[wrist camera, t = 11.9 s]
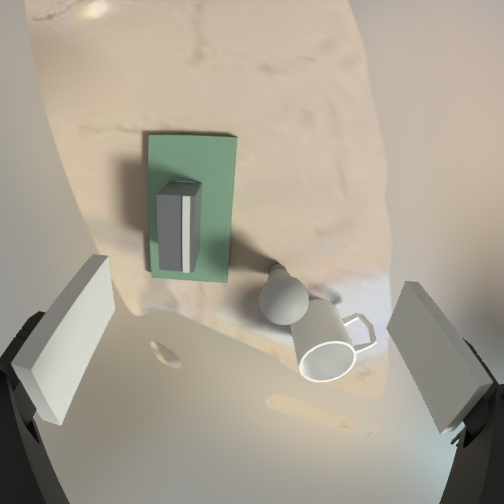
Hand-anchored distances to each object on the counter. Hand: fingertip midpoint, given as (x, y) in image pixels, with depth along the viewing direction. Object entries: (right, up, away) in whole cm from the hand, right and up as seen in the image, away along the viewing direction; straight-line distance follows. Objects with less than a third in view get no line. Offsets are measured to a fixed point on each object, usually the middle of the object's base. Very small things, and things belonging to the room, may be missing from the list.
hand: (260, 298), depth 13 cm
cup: (+12, -8, +36) cm, 39 cm away
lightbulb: (+3, 0, +32) cm, 32 cm away
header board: (-9, +7, +28) cm, 30 cm away
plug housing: (-9, +7, +27) cm, 29 cm away
